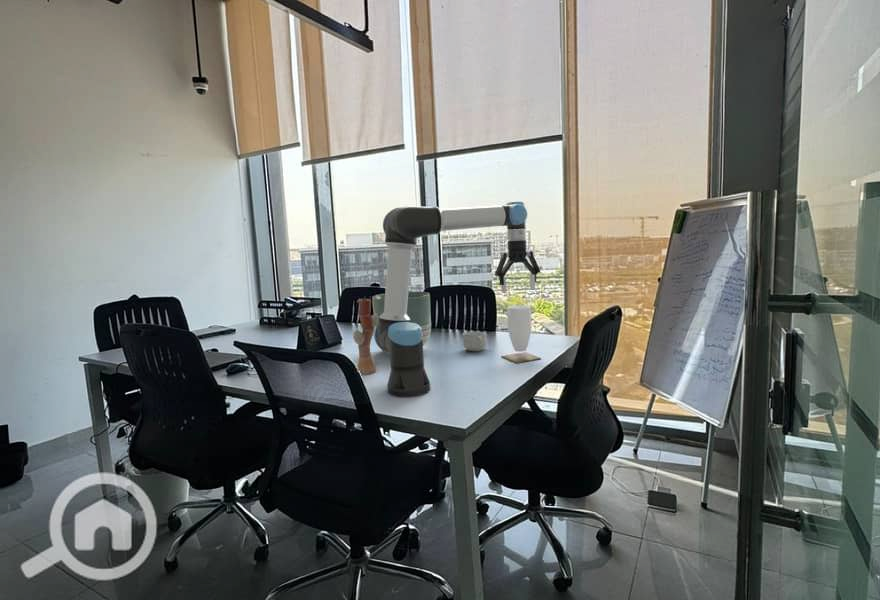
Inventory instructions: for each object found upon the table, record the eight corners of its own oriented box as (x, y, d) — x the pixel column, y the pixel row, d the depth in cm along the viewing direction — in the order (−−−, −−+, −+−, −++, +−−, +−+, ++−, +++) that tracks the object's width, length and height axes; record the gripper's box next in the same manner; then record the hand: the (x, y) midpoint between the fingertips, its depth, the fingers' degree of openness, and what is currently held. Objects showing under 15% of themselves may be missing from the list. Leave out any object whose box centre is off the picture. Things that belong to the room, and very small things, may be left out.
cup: (527, 361, 197) (525, 309, 194) (504, 358, 202) (502, 308, 200) (536, 355, 205) (535, 305, 202) (514, 353, 211) (512, 304, 208)
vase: (356, 375, 191) (350, 301, 187) (355, 371, 198) (349, 299, 194) (383, 372, 193) (377, 298, 189) (381, 368, 200) (375, 296, 196)
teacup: (461, 348, 228) (461, 331, 227) (484, 346, 229) (483, 330, 228) (466, 355, 214) (465, 337, 213) (490, 353, 215) (489, 335, 214)
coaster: (515, 363, 196) (515, 362, 196) (501, 357, 207) (501, 355, 207) (540, 359, 201) (540, 358, 200) (525, 353, 212) (525, 352, 212)
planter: (408, 342, 246) (405, 290, 242) (444, 350, 226) (441, 293, 222) (365, 353, 228) (360, 297, 224) (399, 362, 208) (395, 300, 205)
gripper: (494, 241, 189) (496, 295, 192) (547, 238, 198) (549, 289, 201) (485, 241, 196) (487, 293, 199) (537, 238, 205) (539, 287, 208)
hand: (518, 291), depth 200 cm, fingers open, 13 cm apart
